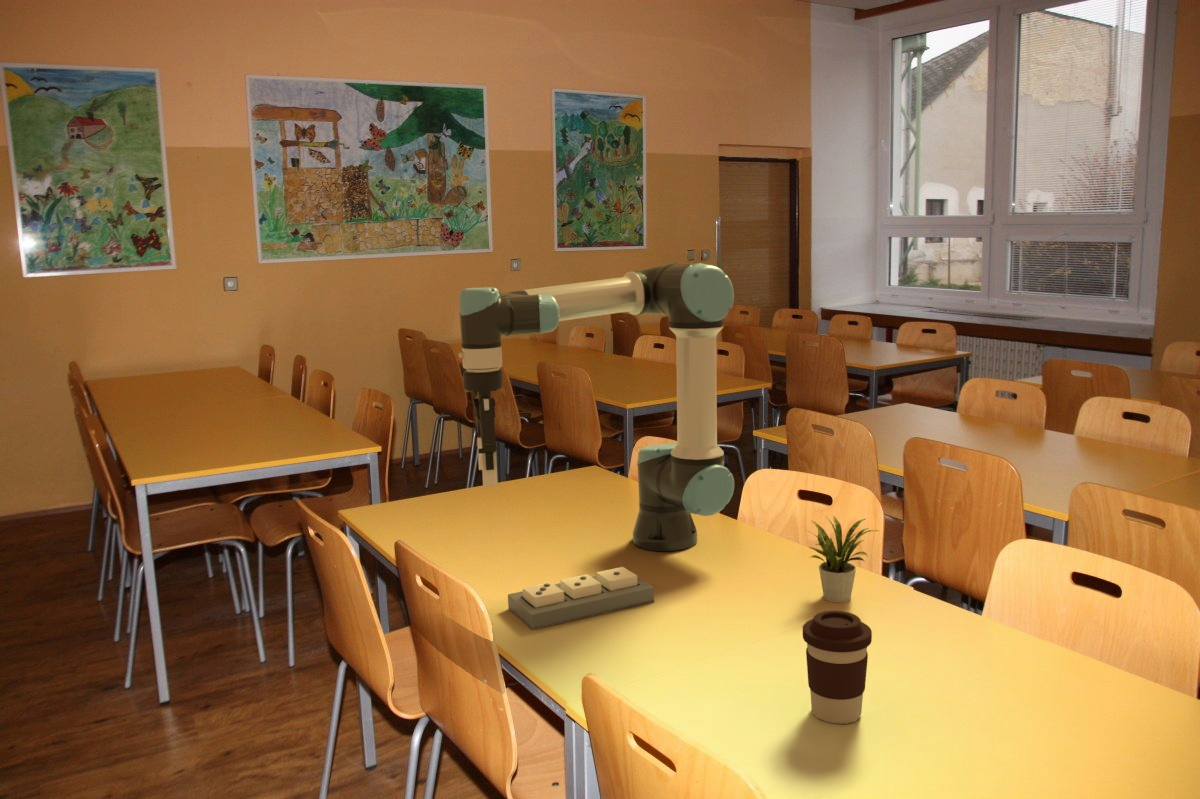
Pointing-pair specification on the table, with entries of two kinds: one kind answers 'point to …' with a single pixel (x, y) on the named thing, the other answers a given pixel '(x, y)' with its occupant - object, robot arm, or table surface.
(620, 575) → the key one
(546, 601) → the key three
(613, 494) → the table surface
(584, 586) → the key two
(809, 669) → the coffee cup
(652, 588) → the keypad
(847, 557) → the house plant
